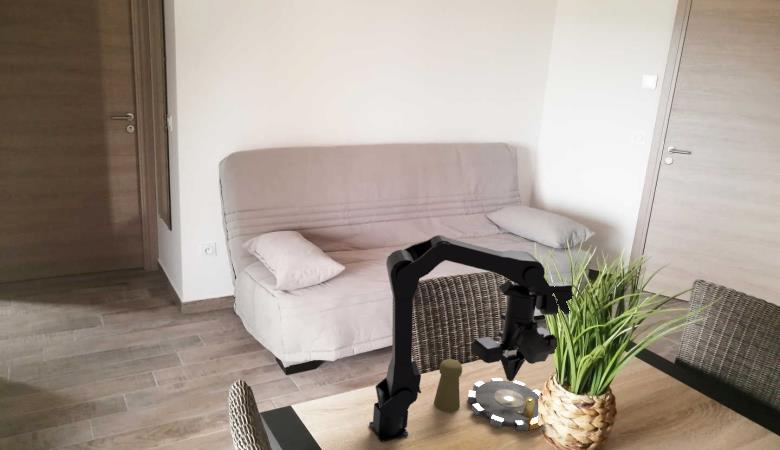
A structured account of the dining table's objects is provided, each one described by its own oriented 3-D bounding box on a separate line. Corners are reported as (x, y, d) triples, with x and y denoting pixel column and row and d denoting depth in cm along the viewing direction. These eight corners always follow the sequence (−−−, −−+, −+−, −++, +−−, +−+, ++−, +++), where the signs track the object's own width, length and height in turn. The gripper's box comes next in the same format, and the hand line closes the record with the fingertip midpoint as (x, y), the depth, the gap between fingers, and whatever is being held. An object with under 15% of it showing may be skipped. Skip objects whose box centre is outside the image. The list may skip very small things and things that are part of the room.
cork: (458, 414, 131) (463, 371, 128) (432, 409, 132) (436, 366, 129) (460, 399, 137) (466, 358, 134) (435, 395, 138) (440, 353, 135)
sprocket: (499, 439, 123) (503, 414, 122) (452, 392, 139) (455, 370, 137) (566, 420, 131) (570, 397, 130) (515, 379, 147) (518, 357, 146)
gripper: (507, 337, 109) (496, 409, 113) (582, 324, 117) (569, 392, 121) (473, 312, 118) (465, 380, 123) (545, 302, 127) (534, 365, 131)
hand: (509, 380), depth 124 cm, fingers closed
